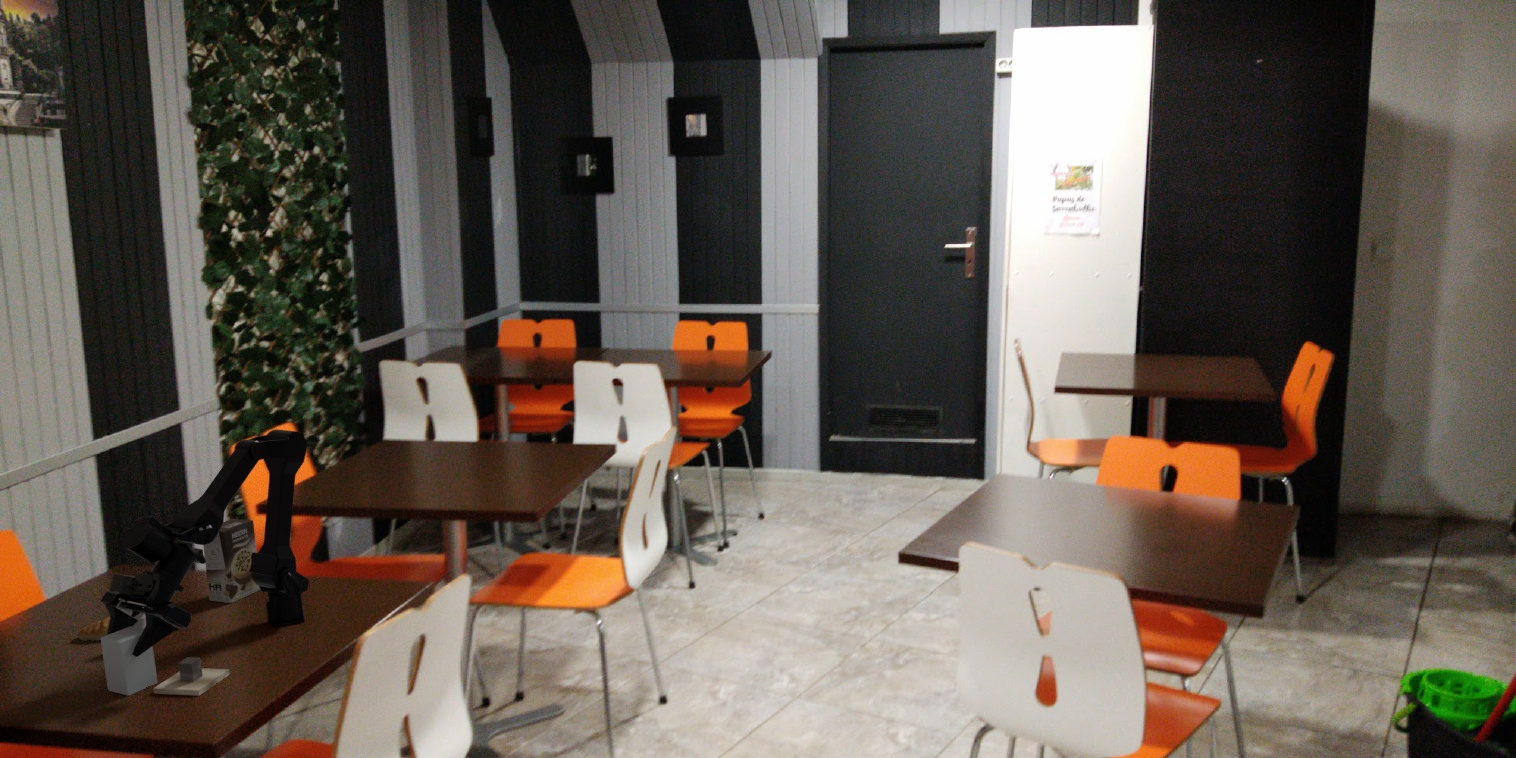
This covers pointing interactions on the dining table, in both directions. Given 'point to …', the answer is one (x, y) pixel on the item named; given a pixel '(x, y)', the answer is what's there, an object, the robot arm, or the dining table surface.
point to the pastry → (94, 630)
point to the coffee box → (231, 562)
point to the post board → (191, 686)
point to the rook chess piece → (140, 620)
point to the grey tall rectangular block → (127, 662)
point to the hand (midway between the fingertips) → (120, 652)
